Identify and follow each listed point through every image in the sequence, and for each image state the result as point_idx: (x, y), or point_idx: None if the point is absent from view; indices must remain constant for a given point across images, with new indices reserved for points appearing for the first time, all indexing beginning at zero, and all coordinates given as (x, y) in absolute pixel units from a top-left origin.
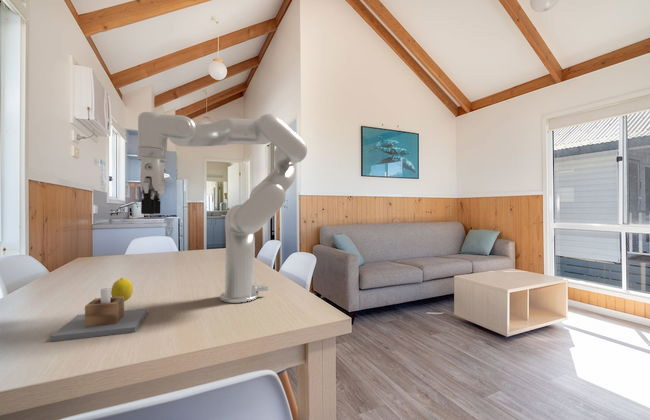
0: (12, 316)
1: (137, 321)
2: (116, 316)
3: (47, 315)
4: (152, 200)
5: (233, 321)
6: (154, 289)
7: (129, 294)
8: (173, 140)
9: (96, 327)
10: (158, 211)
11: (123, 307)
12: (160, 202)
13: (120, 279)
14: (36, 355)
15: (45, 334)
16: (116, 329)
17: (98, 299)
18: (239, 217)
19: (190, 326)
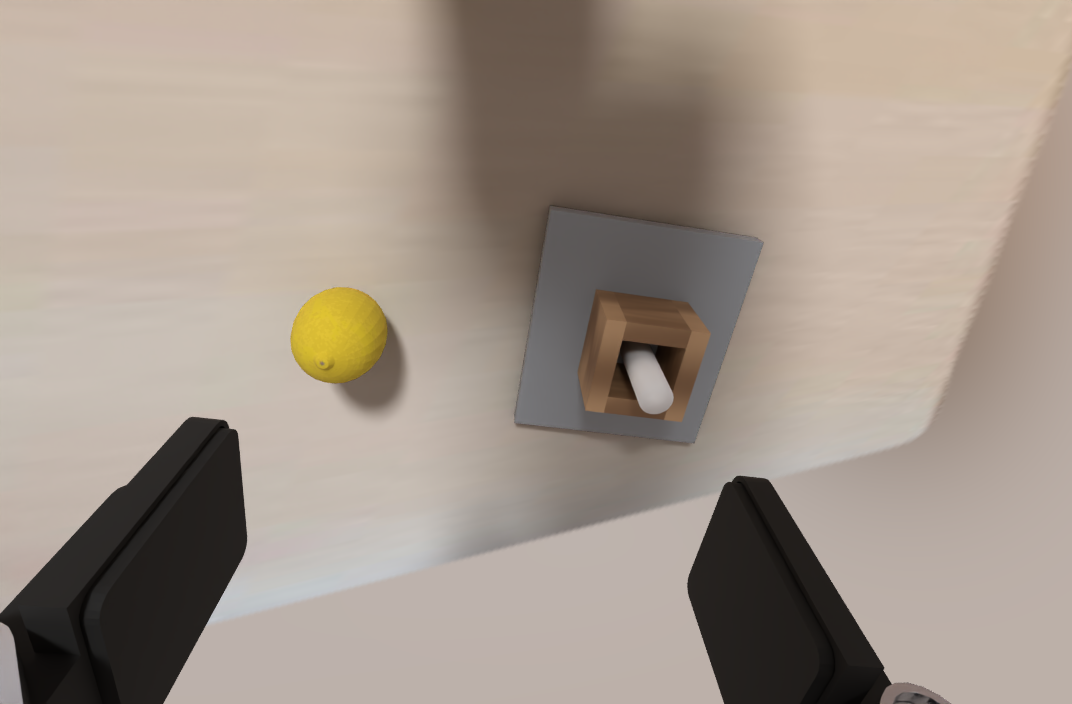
0: (396, 564)
1: (705, 238)
2: (695, 313)
3: (424, 495)
4: (858, 678)
5: None
6: (105, 179)
7: (367, 297)
8: None
9: None
10: (226, 454)
11: (608, 302)
12: (54, 569)
13: (331, 367)
14: (771, 438)
15: (618, 457)
16: (743, 296)
17: (609, 398)
18: None
19: (833, 32)
